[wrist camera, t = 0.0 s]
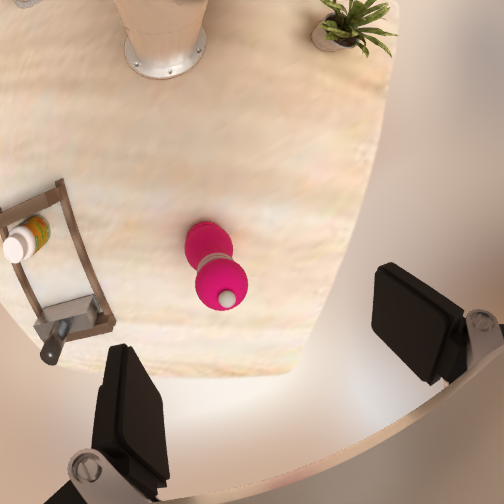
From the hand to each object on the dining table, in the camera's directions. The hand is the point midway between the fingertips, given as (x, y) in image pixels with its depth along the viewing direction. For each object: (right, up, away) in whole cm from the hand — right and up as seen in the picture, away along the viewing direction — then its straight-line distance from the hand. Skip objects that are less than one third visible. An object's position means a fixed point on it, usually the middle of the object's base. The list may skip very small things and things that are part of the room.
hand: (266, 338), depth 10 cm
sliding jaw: (-34, -7, +34) cm, 48 cm away
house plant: (+12, +42, +28) cm, 52 cm away
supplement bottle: (-36, +7, +28) cm, 46 cm away
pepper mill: (-8, +5, +37) cm, 38 cm away
